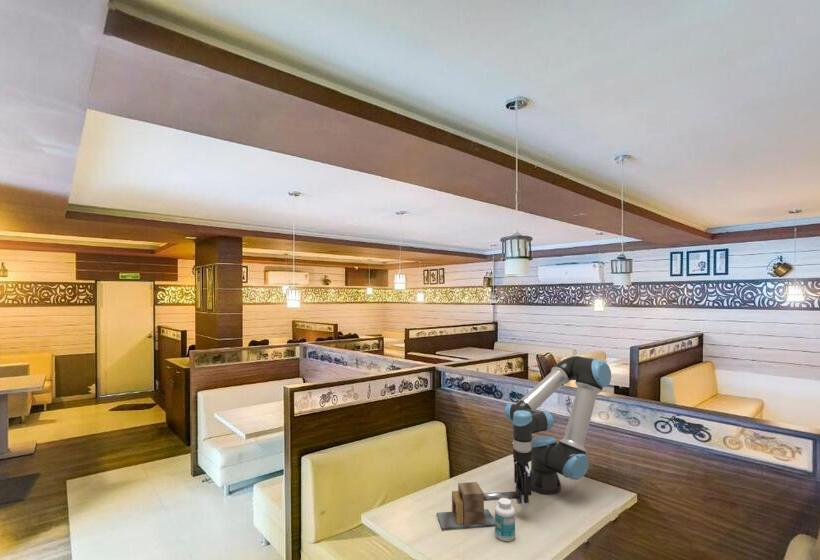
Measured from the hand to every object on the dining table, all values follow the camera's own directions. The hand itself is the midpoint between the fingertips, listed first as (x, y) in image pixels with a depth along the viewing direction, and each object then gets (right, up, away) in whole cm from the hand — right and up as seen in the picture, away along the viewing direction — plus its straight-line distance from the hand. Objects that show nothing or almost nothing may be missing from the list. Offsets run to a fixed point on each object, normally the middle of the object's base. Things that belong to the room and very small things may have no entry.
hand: (522, 506), depth 172 cm
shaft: (-10, +2, -1) cm, 10 cm away
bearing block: (-24, -4, -3) cm, 24 cm away
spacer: (-27, -3, -4) cm, 28 cm away
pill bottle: (-10, -4, -14) cm, 18 cm away
